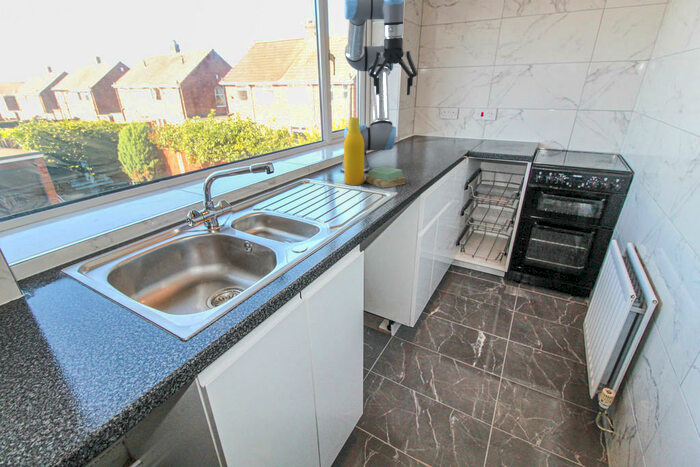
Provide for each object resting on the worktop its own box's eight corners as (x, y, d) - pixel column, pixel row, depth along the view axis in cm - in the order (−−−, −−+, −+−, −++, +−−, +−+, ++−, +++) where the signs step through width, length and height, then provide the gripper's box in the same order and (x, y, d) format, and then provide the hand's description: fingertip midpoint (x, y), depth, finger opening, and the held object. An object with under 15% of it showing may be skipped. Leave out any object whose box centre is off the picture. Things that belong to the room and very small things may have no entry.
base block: (365, 181, 155) (365, 175, 154) (387, 178, 161) (388, 172, 160) (382, 188, 145) (382, 181, 144) (405, 183, 151) (405, 177, 150)
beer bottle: (366, 184, 151) (367, 117, 139) (346, 186, 149) (345, 118, 137) (361, 179, 159) (361, 116, 147) (342, 181, 157) (341, 117, 145)
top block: (368, 176, 152) (368, 170, 151) (383, 172, 159) (383, 166, 158) (387, 180, 145) (387, 174, 144) (402, 176, 152) (402, 169, 151)
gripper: (360, 39, 131) (362, 95, 143) (423, 36, 123) (420, 96, 135) (366, 38, 137) (368, 92, 149) (426, 35, 129) (423, 92, 141)
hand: (392, 94), depth 142 cm, fingers open, 13 cm apart
